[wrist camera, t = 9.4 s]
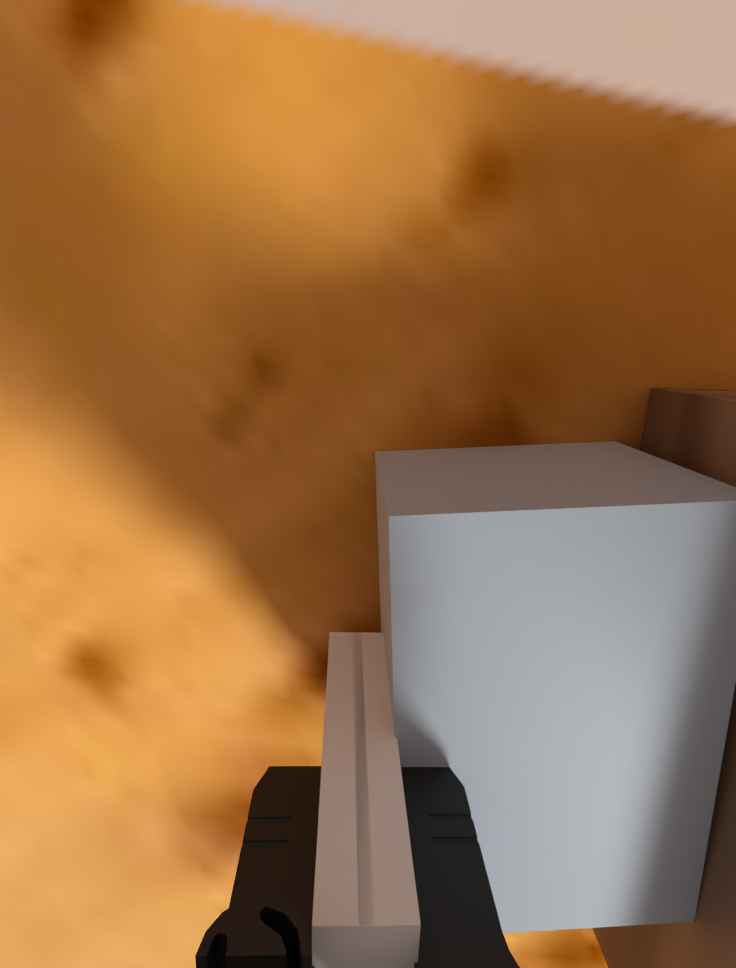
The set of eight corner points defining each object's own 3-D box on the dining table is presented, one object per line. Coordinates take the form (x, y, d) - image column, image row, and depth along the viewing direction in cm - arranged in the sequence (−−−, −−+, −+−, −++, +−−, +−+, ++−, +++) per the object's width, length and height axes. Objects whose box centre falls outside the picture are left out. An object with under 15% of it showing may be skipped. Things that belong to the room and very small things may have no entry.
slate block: (385, 751, 15) (400, 939, 11) (374, 450, 13) (388, 516, 8) (587, 740, 16) (693, 921, 11) (614, 441, 13) (766, 499, 8)
